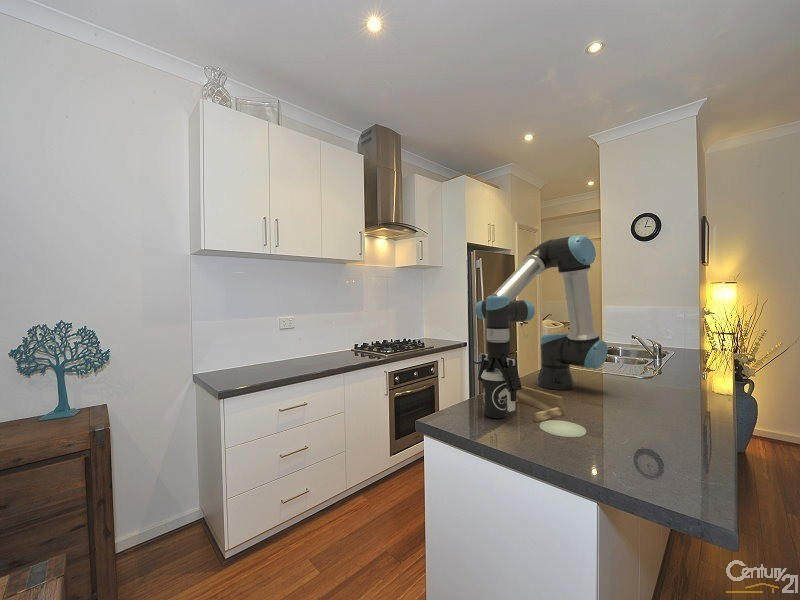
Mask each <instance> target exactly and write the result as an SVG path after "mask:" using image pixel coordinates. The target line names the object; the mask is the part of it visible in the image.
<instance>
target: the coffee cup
mask: <svg viewBox="0 0 800 600" xmlns="http://www.w3.org/2000/svg"><path fill="white" fill-rule="evenodd" d="M486 370H487V369H486ZM486 370H484V371H483V373H482V375H481V378H482V379H483V385H482V390H483V389H484V392H483V400H484V399H485V403H484V408H485V415H486V417H489V418H493V419H503V418H505V417H506V415H507V414H506V413H507V405H508V404H507V391H509V388H508V386H507V383H506V381H505V378H504V376H503V374H502V372H501V371H500V369H497V368H495V370H494V372H486Z"/></svg>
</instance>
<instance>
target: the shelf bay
mask: <svg viewBox="0 0 800 600" xmlns="http://www.w3.org/2000/svg"><path fill="white" fill-rule="evenodd" d="M521 386H522V390H518V391H517V392H516V394H517V396H516V397H517V400H516V401H515V403H521V404H525V405H527V406H530V407H534V408H536V409H540V410H542V411H538V412H534V413H533V422H535V423H539V422H544V421H547V420H548V419H549V420H550V419H553V418H556V417H559V416H562V415H564V397H563V396H560V395H556V394H553V393H549V392H545V391H543V390H542V391H541V390H539V389H534V388H531V387H527V386H523V385H521ZM517 387H518V386H517ZM506 405H508V403H507V404H506Z"/></svg>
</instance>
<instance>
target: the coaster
mask: <svg viewBox="0 0 800 600" xmlns="http://www.w3.org/2000/svg"><path fill="white" fill-rule="evenodd" d="M539 428H540V430H542V431H543V432H544V433H547V434H550V435H552V436H557V437H562V438H579V437H583V436H585V435H587V429H586V428H585V427H583V426H581V425H580V424H578V423H574V422H570V421H565V420H556V419H555V420H554V419H553V420H552V419H551V420H550V419H549V420H543V421H540V423H539Z"/></svg>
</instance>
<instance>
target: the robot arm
mask: <svg viewBox="0 0 800 600" xmlns="http://www.w3.org/2000/svg"><path fill="white" fill-rule="evenodd" d="M596 251H597V250H596V247H595V244H594V243H593V241H592V240H591V239H590V237H588V236H586V235H581V234H580V235H571V236H567V237H559V238H555V239H548V240H546V241H544V242H542V243H540V244H538V245H537V246H535V248H533V249H532V250H530V251H529V252H528V254H526V256H525V257H523V260H522V263H521V264H520V265H519V266H518V267H517V268H516V269H515V270H514V271H513V272H512V274H511V275H509V276H508V278H507V279H506V280H505V281H504V282H503V283H502V284H501V285H500V286H499V287H498V288H497V289H496V290H495V291H494V292H493V293H492V294H491V295H488V296H487V297H486V299H483V300H479V301H478V302H477V303H476V304H475V307H474V312H475V315H476V317H477V318H478V319H480V320H486V340H487V342H486V352H487V353H485V354H484V353H483V354H481V361H480V362H481V363H480V368H479V371H478V372H479V373H478V376H477V380H478V381H480V382H481V383H482V386H483V379H482V378H481V375H482V373H483V371H484V370H486V369H487V370H486V372H494V370H495V369H500V371H501V372H502V374H503V376H504V378H505V381H506V383H507V386H508V391H507V403H508V404H507V412H515V411H516V402H515V401H516V400H517V397H516V396H517V394H516V392H517V391H518V390H522V386H523V385H522V383H521V382H522V381H521V380H520V379H521V378H520V374H519V371H518V367H517V366H518V363H517V359H516V358H510V357H509V353H510V350H511V347H510V346H511V345H510V344H511V343H510V337H511V336H510V335H511V334H510V323H519V322H520V323H524V322H528V321H530V320H532V319H534V316H535V314H536V313H535V312H536V310H535V306H534V304H533V303H532V302H531V301H529V300H524V299H523V300H522V299H520V300H515V299H516V298H517V297H518V296H519V295H520V294H521V293H522V292H523V291H524V290H525V288H526V287H527V286H528V285H530V283H531V282H532V281H533V280H534V279H535V278H536V277H537V275H540V274H542V273H544V271H545V270H547V269H552V268H557V271H558V273H559V274H561V275H562V279H563V284H564V286H563V287H564V292H565V299H566V300H565V301H566V306H567V315H568V321H569V329H570V330H569V331H570V332H569V333H557V334H555V333H554V334H552V333H551V334H545V335H542V336H541V339H540V340H541V341H540V359H541V360H540V369H539V370H540V371H539V373H538V376H537V378H536V379H537V380H536V384H537V386H538V387H541V388H544V389H549V390H557V391H559V390H560V391H561V390H562V391H564V390H565V391H566V390H567V391H568V390H572V389H574V388H575V381H574V378H573V374H572V372H571V369H570V368H571V367H570V366H575V367H581V368H584V369H595V370H596V369H599V368H601V367H602V366H603V365H604V363H605V361H606V359H607V357H608V349H609V348H608V344H607V343H606V342H605V341H604V340H602V339H600V334H599V333H598V332H597V331H596V330H595V327H594V320H593V310H592V302H591V294H590V288H589V287H590V286H589V279H588V271H590V270H591V264H592V265H593V263H594V261H595V260H596V257H597V256H596V254H597V252H596ZM517 386H518V387H517ZM482 393H484V389H483V388H482ZM483 403H484V404H485V399H484V398H483Z"/></svg>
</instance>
